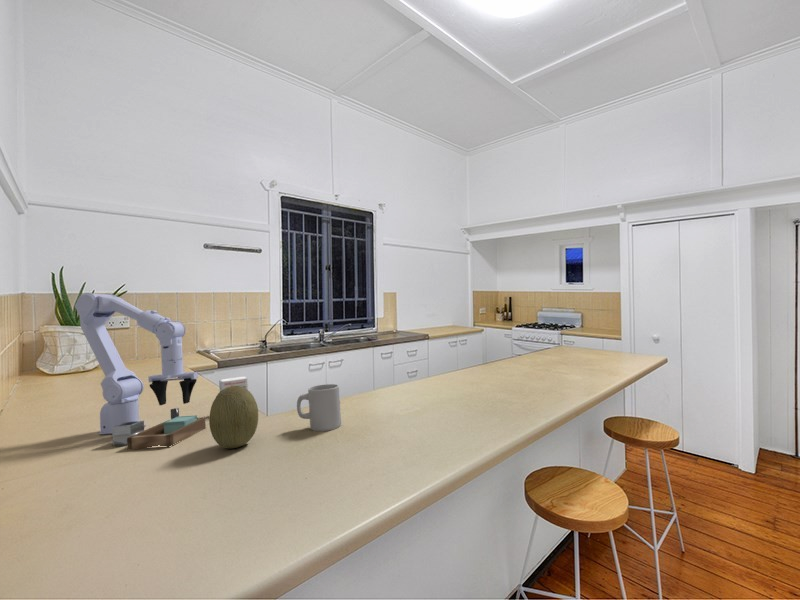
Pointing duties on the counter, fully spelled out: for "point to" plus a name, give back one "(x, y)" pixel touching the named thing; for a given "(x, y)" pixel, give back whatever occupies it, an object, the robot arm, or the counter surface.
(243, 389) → the fruit
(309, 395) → the mug
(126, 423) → the grey piece
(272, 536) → the counter surface
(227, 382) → the ink box
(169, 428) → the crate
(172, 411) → the pin
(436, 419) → the counter surface
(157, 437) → the bay
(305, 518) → the counter surface
